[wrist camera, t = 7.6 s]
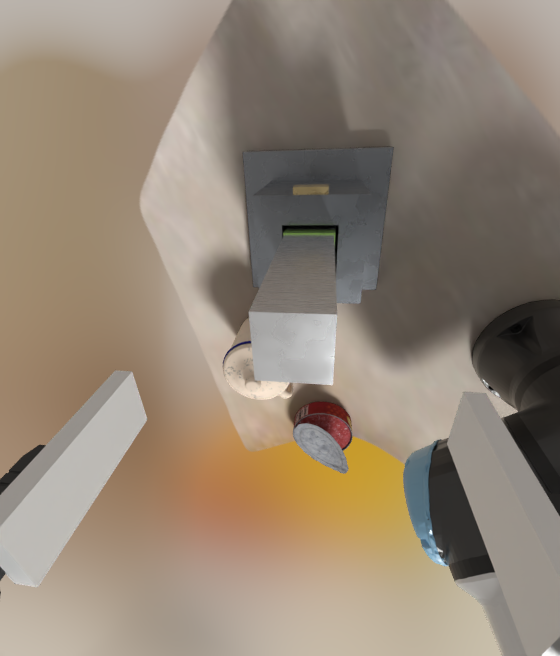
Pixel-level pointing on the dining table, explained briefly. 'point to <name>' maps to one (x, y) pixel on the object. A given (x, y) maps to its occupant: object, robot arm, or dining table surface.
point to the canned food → (324, 433)
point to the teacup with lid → (249, 370)
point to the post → (297, 310)
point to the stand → (320, 207)
